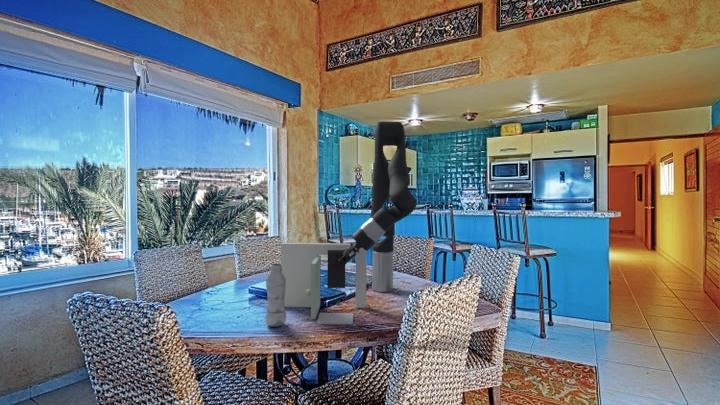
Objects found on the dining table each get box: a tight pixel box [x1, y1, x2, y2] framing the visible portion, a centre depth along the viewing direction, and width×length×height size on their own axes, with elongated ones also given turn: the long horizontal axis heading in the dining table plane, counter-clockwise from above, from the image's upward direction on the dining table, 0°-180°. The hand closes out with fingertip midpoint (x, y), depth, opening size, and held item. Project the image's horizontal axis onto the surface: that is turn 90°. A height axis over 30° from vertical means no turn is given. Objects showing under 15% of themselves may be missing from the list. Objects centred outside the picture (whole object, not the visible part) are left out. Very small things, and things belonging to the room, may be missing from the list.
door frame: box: [280, 242, 368, 325], centre depth 135 cm, size 19×32×24 cm, turn 89°
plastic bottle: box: [264, 263, 287, 328], centre depth 124 cm, size 6×7×20 cm
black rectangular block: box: [326, 250, 346, 289], centre depth 130 cm, size 9×6×12 cm, turn 3°
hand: (333, 268), depth 130 cm, fingers closed on black rectangular block, 3 cm apart
